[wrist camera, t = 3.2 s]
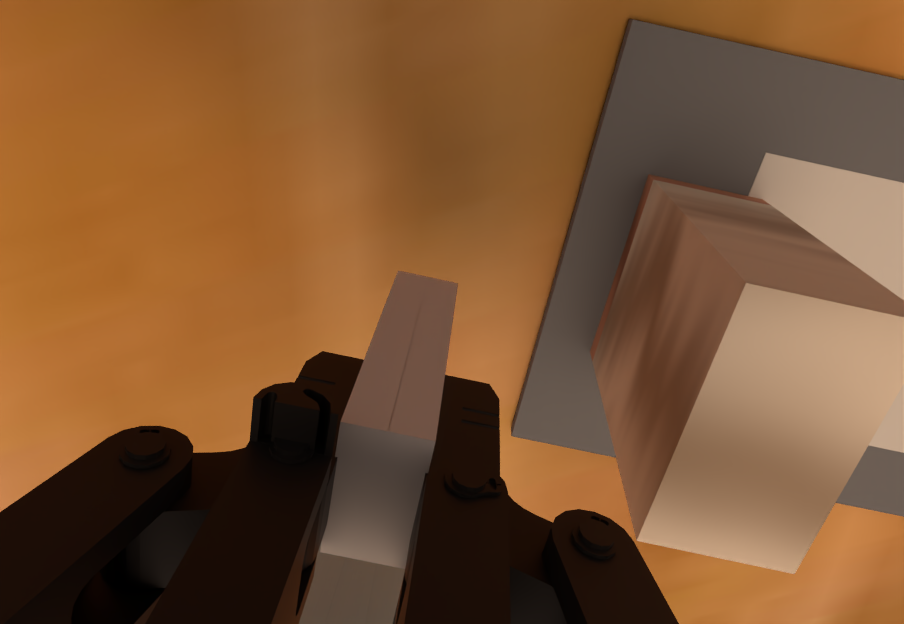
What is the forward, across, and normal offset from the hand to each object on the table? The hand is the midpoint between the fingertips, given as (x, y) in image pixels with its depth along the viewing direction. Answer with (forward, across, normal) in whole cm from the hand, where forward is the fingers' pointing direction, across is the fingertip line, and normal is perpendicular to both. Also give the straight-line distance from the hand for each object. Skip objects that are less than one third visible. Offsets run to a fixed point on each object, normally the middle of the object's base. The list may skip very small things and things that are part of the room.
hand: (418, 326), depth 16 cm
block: (+8, +8, 0) cm, 12 cm away
